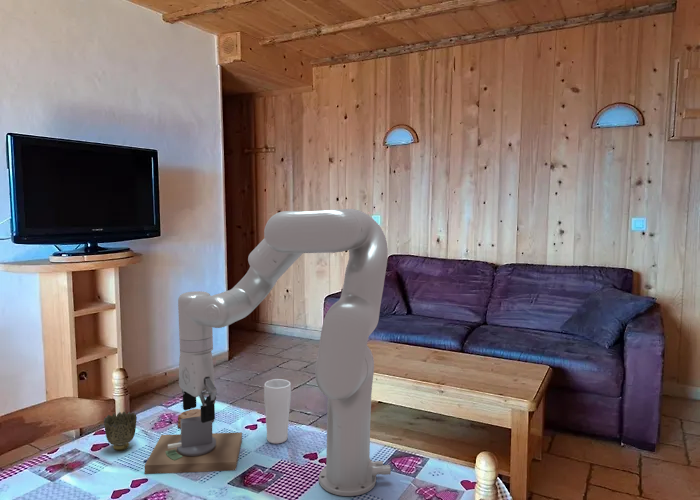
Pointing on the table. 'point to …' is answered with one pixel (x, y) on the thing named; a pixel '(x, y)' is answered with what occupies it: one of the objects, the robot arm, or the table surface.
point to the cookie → (189, 415)
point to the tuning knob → (195, 437)
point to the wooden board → (215, 460)
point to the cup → (120, 429)
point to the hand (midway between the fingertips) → (198, 414)
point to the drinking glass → (277, 409)
